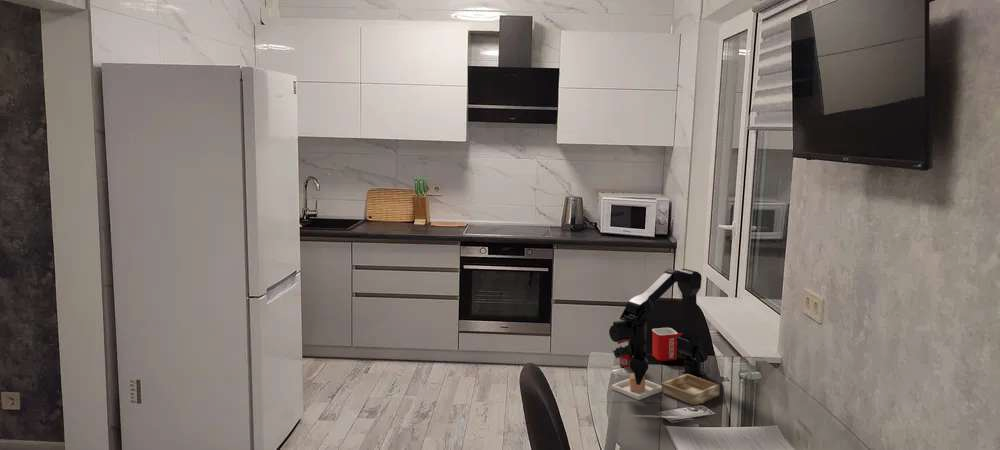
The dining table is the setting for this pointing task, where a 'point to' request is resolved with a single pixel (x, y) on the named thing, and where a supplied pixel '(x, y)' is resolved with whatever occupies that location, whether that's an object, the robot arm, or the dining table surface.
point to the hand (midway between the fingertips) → (637, 379)
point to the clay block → (634, 386)
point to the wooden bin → (690, 389)
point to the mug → (665, 344)
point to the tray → (625, 389)
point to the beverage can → (624, 358)
